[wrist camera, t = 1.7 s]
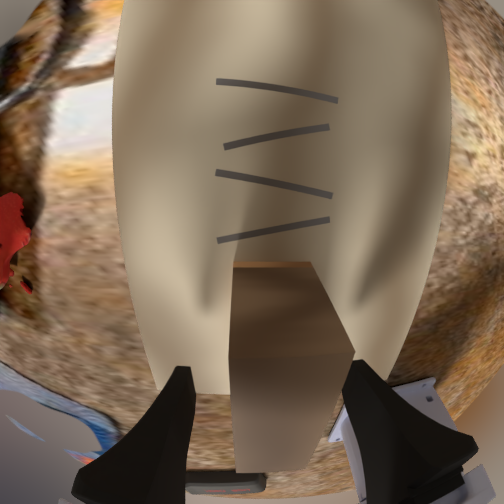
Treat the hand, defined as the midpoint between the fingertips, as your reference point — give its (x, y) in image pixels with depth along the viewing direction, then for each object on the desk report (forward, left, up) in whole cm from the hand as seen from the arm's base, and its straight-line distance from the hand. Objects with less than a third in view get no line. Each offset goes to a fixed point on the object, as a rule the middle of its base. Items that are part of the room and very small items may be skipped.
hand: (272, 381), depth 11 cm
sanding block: (0, 0, -3) cm, 3 cm away
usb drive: (+5, +28, -5) cm, 28 cm away
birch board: (-1, -8, -5) cm, 9 cm away
